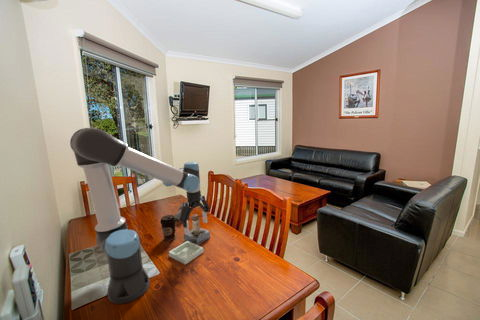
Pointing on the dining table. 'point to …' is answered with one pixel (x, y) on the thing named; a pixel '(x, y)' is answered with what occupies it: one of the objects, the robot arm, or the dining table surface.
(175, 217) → the figurine
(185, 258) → the tray
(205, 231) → the socket block
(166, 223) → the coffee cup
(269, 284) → the dining table surface
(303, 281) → the dining table surface
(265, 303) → the dining table surface
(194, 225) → the pin
